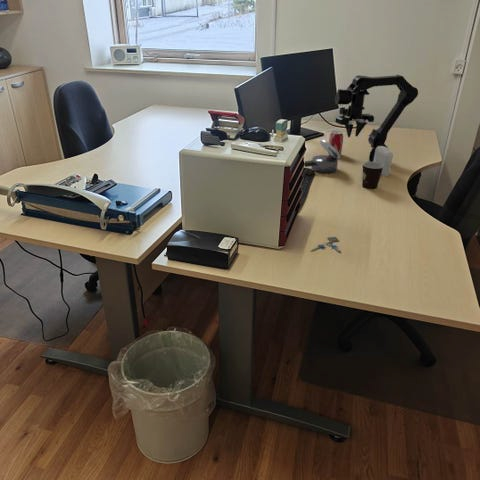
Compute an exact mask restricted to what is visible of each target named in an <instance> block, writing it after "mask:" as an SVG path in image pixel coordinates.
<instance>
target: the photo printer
mask: <svg viewBox="0 0 480 480" xmlns="http://www.w3.org/2000/svg"><path fill="white" fill-rule="evenodd" d="M387 147H388V146H387ZM387 147H384V146H378V147H377V148H376V150H375V155H374V160H373V162H377V163H380V164H382V165H383V170H382V173H381V176H383V177H387V176H389V175H390V172H391V168H392V163H393V158H394V154H393V152H392V151H391V149H390V148H389V147H388V148H387Z"/></svg>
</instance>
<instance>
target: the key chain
mask: <svg viewBox="0 0 480 480" xmlns="http://www.w3.org/2000/svg"><path fill="white" fill-rule="evenodd" d="M327 240H328V241H329V242H325V244H324V243H321V244H318V245H317V247H314V248H312V249H311V250H310V252H312V251H315V250H318V249H320V248H323V249H324V248H326V247H332V248H333V249H334V250H335V251H336V252H338V253H341V252H342V250H340V248H338V245H335V244H333V243H336V242H337V243H338V242H340V240H339V239H338V238H337V236H330V237H329V236H328V237H327ZM325 245H326V246H325ZM332 248H331V249H332Z"/></svg>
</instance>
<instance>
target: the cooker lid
mask: <svg viewBox="0 0 480 480" xmlns="http://www.w3.org/2000/svg"><path fill="white" fill-rule="evenodd" d="M319 144H320V146H321V147H322V148H323V149H324V150H326V152H327V153H328V152H329V153H330V154H331V155H332V157H335V158H337V159H338V160H339V159H340V158H341V155H342V154H339V152H338V151H337V150H336V149H335V148H334V147H333V146H332V145H331V144H329V141H327V140H325V139H321V140H320V141H319ZM330 154H329V155H330ZM331 155H330V156H331Z"/></svg>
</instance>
